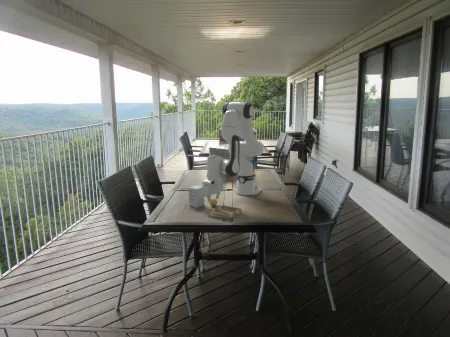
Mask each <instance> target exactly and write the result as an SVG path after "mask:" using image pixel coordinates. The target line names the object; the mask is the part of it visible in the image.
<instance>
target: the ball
mask: <svg viewBox="0 0 450 337" xmlns="http://www.w3.org/2000/svg"><path fill="white" fill-rule="evenodd" d="M210 199H211V202H209V204H210V206H211V207H215V206H216V205H217V204H218V199H216V198H214V197H211V198H210Z"/></svg>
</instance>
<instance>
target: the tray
mask: <svg viewBox="0 0 450 337" xmlns="http://www.w3.org/2000/svg"><path fill="white" fill-rule="evenodd" d="M242 209H243V208H240V207H234V206H230V205H229V206H227V205H224V204H223V205H220V206H218V207H215V208H214V209H213V210H212V209H211V210H210V211H208V214H207V215H208V217H212V218H217V219H222V220H227V221H229V220H231V219H233V218H234V217H237V216H238V215H239V214H242V211H243V210H242Z"/></svg>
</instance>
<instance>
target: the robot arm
mask: <svg viewBox="0 0 450 337" xmlns="http://www.w3.org/2000/svg"><path fill="white" fill-rule="evenodd" d="M222 113H223V117H222V122H221V127H220V128H221V129H220V135H221V137H222V139H223V140H225V141H226V142H227V143H228V147H227V148H228V149H227V150H228V151H227V152H228V153H229V159H227V158H223V157H221V156H220V155H219V154H211V155H208V156H207V159H206V177H205V178H204V179H203V180H202V182H201V184H202V187H203V196H204V198H207V202H208V203H210V202H211V199H212V196H214V195H216V196H215V199H216V200H219V199H220V194H221V192H223V191H224V180H223V178H222V177H221V174H223V175H226V176H229V177H236V178H237V180H236V181H235V182H236V184H235V189H234V193H235V194H237V195H240V196H256V195H258V194H259V193H260V192H261V191H262V188H260V187H259V182H257V180H255V177H256V173H254V163H252V162H251V161H250V160H248V159H246V157H260V156H261V155H262V154H264V153H263V152H264V145H263V144H262V143H261V142H260V141H258V139H257V138H256V137H255V135H254V129H253V116H254V114H255V107H254V105H253V104H252V103H250V102H245V101H227V102H225V103H224V104H223V105H222ZM240 138H241V139H243V141H242V140H240Z"/></svg>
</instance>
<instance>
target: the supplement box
mask: <svg viewBox="0 0 450 337" xmlns="http://www.w3.org/2000/svg"><path fill="white" fill-rule="evenodd" d="M188 202H189V204H188V205H189V207H192V206H193V207H194V208H200V207H203V206H205V196H203V186H201V185H193V186H190V187H188Z"/></svg>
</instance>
